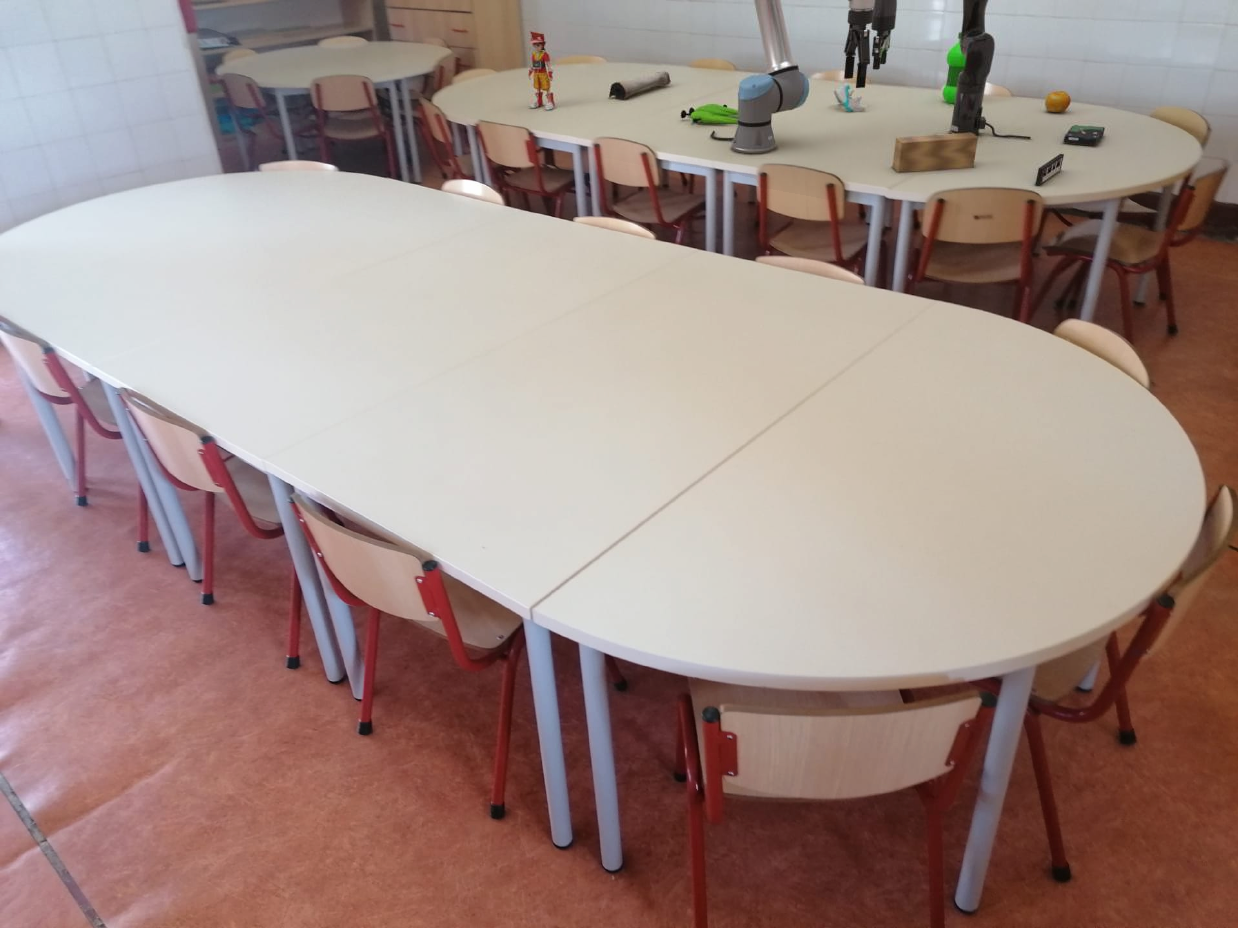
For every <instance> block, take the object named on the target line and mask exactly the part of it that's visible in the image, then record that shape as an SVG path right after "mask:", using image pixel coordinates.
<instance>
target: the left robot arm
mask: <svg viewBox="0 0 1238 928" xmlns="http://www.w3.org/2000/svg"><path fill="white" fill-rule="evenodd" d="M847 1H848V9H849V10H848V11H847V12H848V13H847V24H848V25H849V26H848V32H847V35H846V36H847V37H846V41H845V45H844V50H843V53H844V54H845V63H844V75H843V79H844V80H849V79H854V72H855V60H856V57H855V56H857V57H858V62H857V63H856V66H857V71H856V81H855V88H856V89H861V88H862V89H864V88H866V81H867V72H868V65H870V64H871V50H870V49H871V47H870V33H871V30H870V29H867V25H870V24H872V21H873V12H874V11H873V7H874V4H875V0H847ZM753 2H754V7H755V11H756V17H757V21H758V27H759V31H760V36H761V41H762V46H763V51H764V56H765V62H766V65H767V70H766V72H765V73H764V74H763V73H762V74H761V73H759V74H753V75H750V76H748V77H745V78H743V79H741V81H740V82H739V85H738V92H737V110H738V115H737V119H738V123H737V126H736V129H735V132H734V136H733V137H721V136H715V134H716V131H715V130H712V132H711V134H710V138H711V139H713V140H717V141H731V142H732V143H731V149H732V151H734V152H735V153H736V152H737V153H740V154H747V155H757V154H765V153H769V152H772V151H774V150H775V149H776V137H775V134H774V130H773V127H772V118H773V117H772V115H773V114H777V113H778V114H779V113H782V112H786V111H787V112H788V111H792V110H795V109H798V108H800V107H801V106H803V105H804V104H805V103H806V101H807V98H808V97H809V93H810V82H809V78H808V77H807V75H806V74H805V73H804V72H802V71H800V69H799V65H798V64H797V63H796V62H794V61H793V57H792V52H791V46H790V42H789V36H788V31H787V27H786V22H785V17H784V10H783V6H782V1H781V0H753ZM856 50H857V51H856ZM856 52H857V53H856Z"/></svg>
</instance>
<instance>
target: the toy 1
mask: <svg viewBox="0 0 1238 928" xmlns="http://www.w3.org/2000/svg"><path fill="white" fill-rule="evenodd" d="M529 33H530V35H531V36H528V37H527V38H528V39H529V40H528V41H527V43H529V44H530V43H531V44H532V48H533V50H534V51H533V52H532V55H531V58H530V59H531V63H530V66H528V74H527V75H528V76H527V77H528V79H529V80H531V75H532V74H533V84H532V85H533V86H532V87H533V88H534V89H535V90H536V92H534V95H535V97H536V100H535V101H533V102H531V105H530V108H531V109H535V108H538V107H542V106H544V101H543V100H544V99H543V95H544V92H546V94H545V97H546V99H547V103H546V104H545V106H544V110H546V111H549V110H553V109H554V107H555V106H556V105H555V99H554V92H551V91H550V90H551V86H552V84H551V82H552V81H553V80H554V77H553V73H554V71H555V70H554V69H552V68H551V63H550V61H551V59H550V58H551V57H550V54H549V53H548V52H547V50H546V48H545V46H546V44H547V41H545V35H544V33H543V32H542V33H539V32H535V31H529Z"/></svg>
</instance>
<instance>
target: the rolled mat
mask: <svg viewBox="0 0 1238 928" xmlns="http://www.w3.org/2000/svg"><path fill="white" fill-rule="evenodd" d="M671 83H672V81H671V77H670V74H669V72H668V71H658V72H654V73H649V74H645V75H640V76H637V77H633V78H628V79H623V80H620V81H616V82H613V83H612V84H611V85H610V89H609V95H608V97H609V98H611V97H616V99H620V100H622V101H623V100H626V99H627V98H629V97H630V96H632V95H635V94H636V93H638V92H640V91H643V90H644V89H647V88H650V87H655V86H658V87H659V86H661V87H665V86H669V85H670V84H671Z"/></svg>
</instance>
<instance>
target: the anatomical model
mask: <svg viewBox="0 0 1238 928" xmlns="http://www.w3.org/2000/svg"><path fill="white" fill-rule="evenodd" d="M850 89H851V87H850V84H848V83H847V82H844V81H843V82H842V84H841V85H840V86H839V87H836V88H834V90H833V94H834V96H835V98H836V100H837V102H838V104H841V105H843V106H844V108H845V110H846V111H847V112H849V113H850V112H854V111H859V110H860V111H863V110H864V111H865V109H866V108H867V106H866V105H861V104H860V101H861V100H862V99H863V96H862V95H860V96H857V97H855V98H853V97H852V95H853V93H854V92H855V89H854V90H851V91H849V90H850Z"/></svg>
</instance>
